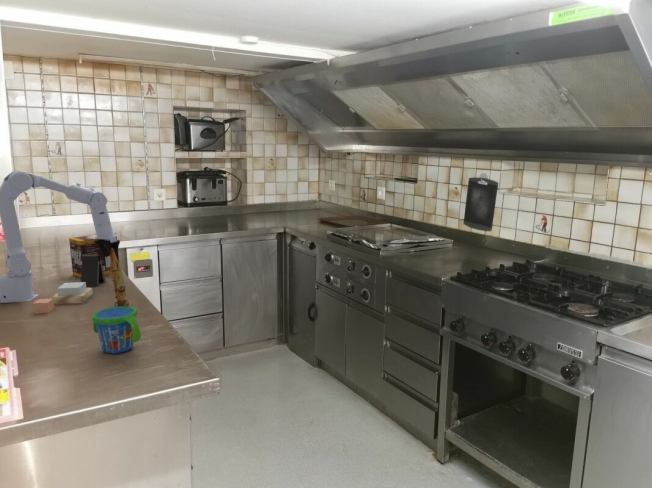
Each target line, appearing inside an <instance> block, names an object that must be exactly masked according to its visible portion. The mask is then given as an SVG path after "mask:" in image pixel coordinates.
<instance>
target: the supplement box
mask: <svg viewBox="0 0 652 488" xmlns="http://www.w3.org/2000/svg"><path fill="white" fill-rule="evenodd" d="M115 236H116V240H118V236H117V235H115ZM95 240H97V238H96V235H95V234H92V235H91V234H90V235H84V236H77V237H69V240H68V241H69V249H70V260H71V269H72V276H76V277H78V278H80V279H81V272H82V259H81V258H82V255H83V254H100V256H101V264H102V268H103V272H104V276H107V275H110V264H111V258H110V256H108V257H104V256H103V255H102V253H101V251H100V249H99V247H98V246H97V245H96V244H95V243H94V241H95ZM119 256H120V255H119V254H118V259H117V260H118V262H119V263H120V258H119Z"/></svg>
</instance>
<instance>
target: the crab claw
mask: <svg viewBox="0 0 652 488" xmlns="http://www.w3.org/2000/svg"><path fill="white" fill-rule="evenodd" d="M110 258H111V264H110V274H109V275H110V279H111V282H112V284H113V286H114V287H113V288H114V293H115V297H114V298H115V299H116V300H117V301H115V302H114V307H117V306H118V307H130V302H129V300H128V299H126V297H127V286H126V285H124V284H125V280H124V279H125V277H124V274H123V271H122V268H121V265H120V261H119V262H118V260H117V258H116V255H115V252H114V250H113V248H111V255H110Z"/></svg>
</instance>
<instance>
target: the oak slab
mask: <svg viewBox="0 0 652 488" xmlns="http://www.w3.org/2000/svg"><path fill="white" fill-rule="evenodd" d="M93 294H94V293H93V287H86V290H85V291H84V292H82V293H81V294H80V295H60V296H58V292H56V293H55V294H54V295H52V296H51V299H53V301H54V304H71V303H84V302H85V301H87V300H88V299H89V298H90V297H91V296H92V295H93ZM71 305H72V304H71Z"/></svg>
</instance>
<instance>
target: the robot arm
mask: <svg viewBox="0 0 652 488" xmlns="http://www.w3.org/2000/svg"><path fill="white" fill-rule="evenodd" d="M31 188H33V189H36V188H45V189H49V190H53V191H56V192H59V193H62V194H64V195H65V197H66V198H67V199H69V200H71V201H73V202H78V203H81V204H84V205H88V206H89V209H90V212H91V213H90V215H91V217H92V221H93V227H94V229H95V230H94V231H95V234H94V235H96V238H97V240H95V241H94V243H95V244H96V245H97V246H98V247H99V249H100V251H101V253H102V255H103V256H104V257H108V256H110V255H111V248H113V250H114V252H115V255H116V258H117V259H118V255H119V246H120V244H121V241H120V240H119V239H117V240H116V236H117V231H113V227H112V223H111V219H110V214H109V212H108V211H109V210H108V207H107V203H108V198H107V197H106V195H105V194H104V193H103V192H100V191H97V190H95V189H94V188H91V187H90V188H88V187H85V186H82V185H81V183H77V182H76V183H75V182H73V183H70V184H64V183H62V182H59V181H57V180H53V179H51V178H48V177H45V176H44V175H39V174H33V173H28V172H24V171H20V170H14V171H12V172H9V174H8V175H6V176H5V177H4V178H3V181H2V183H1V185H0V222H1V225H2V231H3V232H2V233H3V236H4V241H5V245H6V246H5V247H6V259H5V265H6V267H7V269H9V271H8V272H7V274H3V275H1V276H0V303H1V304H7V303H8V304H9V303H10V304H11V303H16V302H17V303H19V302H20V303H21V302H31V301H32V300H33V299H36V297H38V296H39V295H40V294H39V293H37V294H36V293H35V292H34V291H35V290H34V283H33V276H32V271H31V270H32V263H31V261H30V260H29V259H28V257H27V255H26V254H27V253H26V252H25V251H26V250H25V248H24V245H23V241H22V237H21V236H22V235H21V230H20V225H19V220H18V216H17V210H16V206H15V200H16V199H18V197H19V196H20V195H21V194H23V193H25V192H27V191H29V189H31Z"/></svg>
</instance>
